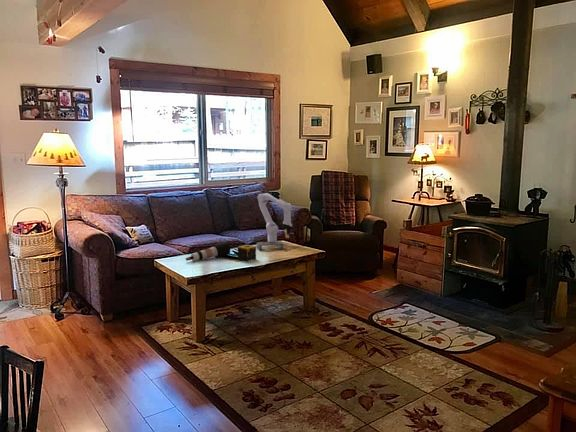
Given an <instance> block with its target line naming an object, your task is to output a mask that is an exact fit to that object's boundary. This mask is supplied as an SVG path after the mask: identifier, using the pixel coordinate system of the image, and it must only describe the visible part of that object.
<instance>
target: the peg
mask: <svg viewBox="0 0 576 432" xmlns="http://www.w3.org/2000/svg"><path fill="white" fill-rule="evenodd" d="M284 234H285V238H286V239H290V234H287V230H285V231H284Z"/></svg>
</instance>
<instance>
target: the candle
mask: <svg viewBox="0 0 576 432" xmlns="http://www.w3.org/2000/svg"><path fill="white" fill-rule="evenodd" d="M237 260H238V261H241V262H250V261H254V260H257V245H256V246H255V245H251V244H244V245H239V246H237Z"/></svg>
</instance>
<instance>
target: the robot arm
mask: <svg viewBox="0 0 576 432" xmlns="http://www.w3.org/2000/svg"><path fill="white" fill-rule="evenodd" d="M257 201H258V206H259V209H260V211H261V213H262V215H263V218H264V221H265V223H266V225H265V227H266V229H265V230H266V232H267V242H272V241H278V239H277V238H278V237H277V233H278V232H279V226H278V225H277V224H276V223H275V222H274V221H273V219H272V217H271V214H270V212H269V210H268V207H267V203H268V202H269V201H270V202H273V203H275V204H276V205H277V206H278V207H279V208H282V210H283V221H282V227H283V230H284V231H283V232H285V230H287V234H288V235H290V234H291V230H292V228H293V223H292V222H291V221H292V215H291V214H292V209H293V205H292V203H291V202H287V201H285V200H284V199H282V198H279V199H278V198H276V197H275V196H273V195H272V194H270V193H268V192H266V193H259V194H258V195H257ZM267 244H269V243H267Z"/></svg>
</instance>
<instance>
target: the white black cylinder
mask: <svg viewBox="0 0 576 432" xmlns="http://www.w3.org/2000/svg"><path fill="white" fill-rule="evenodd" d="M228 254H229V255H230V254H231V248H230V245H229V243H228V241H224V242H223V241H222V242H220V243H215V244H212V246H211V247H209V248H205V249H202V250H198V251H196V252H193V253H191V254H190V256H189V257H186V258H185V261H191V260H192V262H197V261H198V262H199V261H202V260H207V259H211V258H216V259H217V258H222V257H225V256H228Z"/></svg>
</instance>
